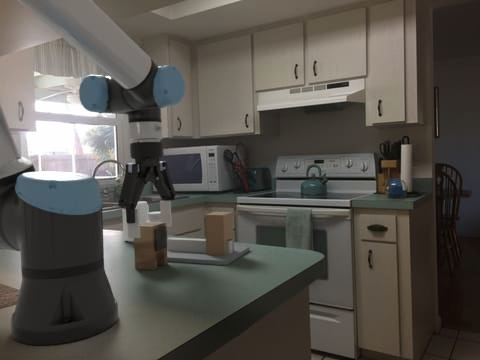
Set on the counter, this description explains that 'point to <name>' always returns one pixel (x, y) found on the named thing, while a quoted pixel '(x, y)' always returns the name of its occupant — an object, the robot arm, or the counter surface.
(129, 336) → the counter surface
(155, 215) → the pill bottle
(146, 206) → the white piece
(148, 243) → the notched tan block
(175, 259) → the rail
